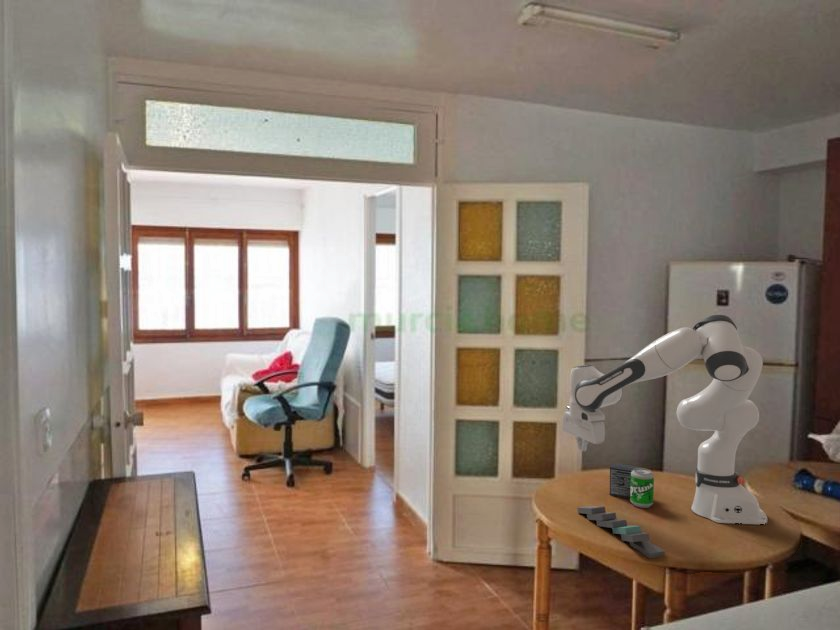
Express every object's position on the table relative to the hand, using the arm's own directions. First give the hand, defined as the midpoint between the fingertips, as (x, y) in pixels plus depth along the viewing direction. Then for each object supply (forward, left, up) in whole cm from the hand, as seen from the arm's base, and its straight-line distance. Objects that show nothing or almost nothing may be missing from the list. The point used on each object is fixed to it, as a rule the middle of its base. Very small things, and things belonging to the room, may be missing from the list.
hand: (582, 450), depth 210 cm
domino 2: (-5, +13, -18) cm, 23 cm away
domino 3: (-8, +17, -18) cm, 26 cm away
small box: (-15, -12, -19) cm, 27 cm away
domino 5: (-15, +26, -18) cm, 35 cm away
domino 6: (-17, +28, -19) cm, 38 cm away
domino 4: (-13, +21, -18) cm, 31 cm away
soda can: (-20, -4, -19) cm, 28 cm away
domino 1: (-1, +8, -18) cm, 20 cm away
